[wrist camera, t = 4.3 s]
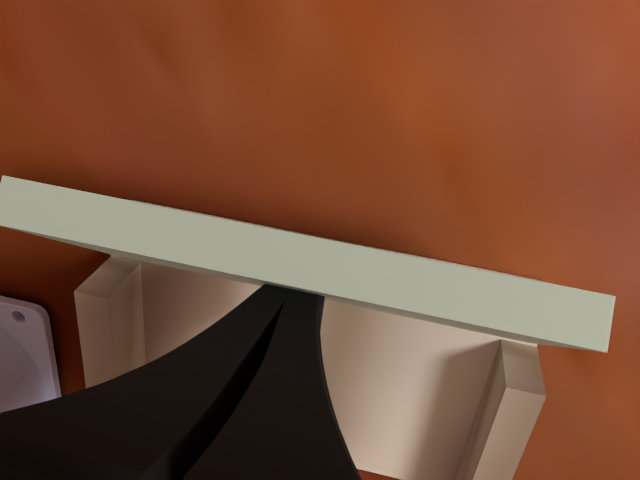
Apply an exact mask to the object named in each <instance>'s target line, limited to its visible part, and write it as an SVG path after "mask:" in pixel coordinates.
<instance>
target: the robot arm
mask: <svg viewBox="0 0 640 480" xmlns="http://www.w3.org/2000/svg"><path fill="white" fill-rule="evenodd" d="M324 301H325V296H321V295H318V294H313V293H308V292H303V291H298V290H294V289H289V288H284V287H279V286H275V285H270V284H263V285H262V286H261V287H260V288H259V289H257V290H256V291H255V292H254V293H253V294H251V295H250V296H249V297H248V298H247V299H245V300H244V301H243V302H242V303H240V304H239V305H238V306H237V307H235V308H234V309H233V310H231V311H230V312H229V313H227V314H226V315H225V316H223V317H222V318H221V319H219V320H218V321H217V322H215V323H214V324H213V325H211V326H210V327H208V328H207V329H205V330H204V331H202V332H201V333H199V334H198V335H196V336H195V337H193V338H192V339H190V340H189V341H187V342H185V343H184V344H182V345H180V346H179V347H177V348H175V349H174V350H172V351H170V352H169V353H167V354H165V355H163V356H161V357H159V358H157V359H155V360H154V361H152V362H149V363H147V364H145V365H143V366H141V367H139V368H136V369H134V370H132V371H129V372H127V373H125V374H122V375H120V376H118V377H116V378H113V379H111V380H108V381H106V382H103V383H100V384H98V385H95V386H92V387H89V388H87V389H84V390H81V391H78V392H75V393H72V394H68V395H65V396H62V397H61V390H60V384H59V377H58V371H57V365H56V358H55V352H54V346H53V339H52V333H51V326H50V320H49V316H48V313H47V311H46V310H45V309H44V308H43V307H42V306H40V305H38V304H35V303H30V302H26V301H21V300H17V299H13V298H8V297H4V296H0V480H362V479H361V477H360V475H359V472H358V470H357V468H356V466H355V464H354V462H353V460H352V458H351V455H350V453H349V450H348V448H347V445H346V442H345V440H344V437H343V435H342V432H341V430H340V427H339V424H338V421H337V418H336V415H335V412H334V409H333V405H332V401H331V398H330V394H329V390H328V385H327V381H326V376H325V370H324V364H323V357H322V348H321V336H320V330H321V323H322V315H323V308H324Z"/></svg>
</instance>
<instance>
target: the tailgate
mask: <svg viewBox="0 0 640 480" xmlns="http://www.w3.org/2000/svg"><path fill="white" fill-rule="evenodd" d="M0 226H3V227H7V228H10V229H14V230H18V231H22V232H26V233H30V234H34V235H38V236H41V237H45V238H49V239H53V240H57V241H61V242H65V243H68V244H72V245H76V246H80V247H84V248H88V249H92V250H95V251H99V252H103V253H107V254H111V255H115V256H120V257H125V258H130V259H134V260H139V261H144V262H149V263H153V264H158V265H163V266H168V267H172V268H177V269H182V270H186V271H191V272H196V273H201V274H205V275H210V276H215V277H220V278H224V279H229V280H234V281H239V282H243V283H248V284H253V285H258V286H262V285H263V284H270V285H275V286H279V287H284V288H289V289H294V290H298V291H303V292H308V293H313V294H318V295H321V296H325V300H329V301H333V302H338V303H343V304H348V305H352V306H357V307H362V308H367V309H371V310H376V311H381V312H385V313H390V314H395V315H400V316H404V317H409V318H414V319H419V320H423V321H428V322H433V323H438V324H442V325H447V326H452V327H457V328H461V329H466V330H471V331H475V332H480V333H485V334H490V335H494V336H499V337H504V338H509V339H513V340H518V341H523V342H528V343H535V344H543V345H551V346H559V347H567V348H575V349H583V350H591V351H599V352H607V351H608V344H609V338H610V331H611V324H612V318H613V311H614V304H615V297H616V296H611V295H606V294H601V293H596V292H591V291H586V290H581V289H576V288H571V287H566V286H561V285H555V284H550V283H545V282H540V281H535V280H530V279H525V278H520V277H515V276H510V275H505V274H500V273H495V272H490V271H485V270H480V269H474V268H469V267H464V266H459V265H454V264H449V263H444V262H439V261H434V260H429V259H424V258H419V257H414V256H409V255H404V254H399V253H393V252H388V251H383V250H378V249H373V248H368V247H363V246H358V245H353V244H348V243H343V242H338V241H333V240H328V239H323V238H317V237H312V236H307V235H302V234H297V233H292V232H287V231H282V230H277V229H272V228H267V227H262V226H257V225H252V224H247V223H242V222H236V221H231V220H226V219H221V218H216V217H211V216H206V215H201V214H196V213H191V212H186V211H181V210H176V209H171V208H166V207H161V206H155V205H150V204H145V203H140V202H135V201H130V200H125V199H120V198H115V197H110V196H105V195H100V194H95V193H90V192H85V191H79V190H74V189H69V188H64V187H59V186H54V185H49V184H44V183H39V182H34V181H29V180H24V179H19V178H14V177H9V176H4V175H3V176H2V179H1V183H0Z"/></svg>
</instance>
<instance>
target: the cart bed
mask: <svg viewBox="0 0 640 480" xmlns="http://www.w3.org/2000/svg"><path fill="white" fill-rule="evenodd" d="M130 201H135V202H140V203H145V204H150V205H155V206H161V207H166V208H171V209H176V210H181V211H186V212H191V213H196V214H201V215H206V216H211V217H216V218H221V219H226V220H231V221H236V222H242V223H247V224H252V225H257V226H262V227H267V228H272V229H277V230H282V231H287V232H292V233H297V234H302V235H307V236H312V237H317V238H323V239H328V240H333V241H338V242H343V243H348V244H353V245H358V246H363V247H368V248H373V249H378V250H383V251H388V252H393V253H399V254H404V255H409V256H414V257H419V258H424V259H429V260H434V261H439V262H444V263H449V264H454V265H459V266H464V267H469V268H474V269H480V270H485V271H490V272H495V273H500V274H505V275H510V276H515V277H520V278H525V279H530V280H535V281H540V282H544V281H543V280H538V279H532V278H527V277H522V276H517V275H512V274H507V273H502V272H497V271H492V270H487V269H482V268H477V267H472V266H467V265H461V264H456V263H451V262H446V261H441V260H436V259H431V258H426V257H421V256H416V255H411V254H406V253H401V252H396V251H390V250H385V249H380V248H375V247H370V246H365V245H360V244H355V243H350V242H345V241H340V240H335V239H330V238H325V237H319V236H314V235H309V234H304V233H299V232H294V231H289V230H284V229H279V228H274V227H269V226H264V225H259V224H254V223H248V222H243V221H238V220H233V219H228V218H223V217H218V216H213V215H208V214H203V213H198V212H193V211H188V210H183V209H177V208H172V207H167V206H162V205H157V204H152V203H147V202H142V201H137V200H130ZM110 256H111V257H110V258H108V259H107V260H106V261H105V262H104V263H103V264H102V265H101V266H100V267H99V268H98V269H97V270H96V271H95V272H94V273H93V274H92V275H91V276H89V277H88V278H87V279H86V280H85V281H84V282H83V283H82V284H81V285H80V286H79V287H78V288H77V289H76V290H75V291H74V297H75V305H76V313H77V321H78V329H79V337H80V345H81V352H82V360H83V368H84V376H85V384H86V389H87V388H89V387H92V386H95V385H98V384H100V383H103V382H106V381H108V380H111V379H113V378H116V377H118V376H120V375H122V374H125V373H127V372H129V371H132V370H134V369H136V368H139V367H141V366H143V365H145V364H147V363H149V362H152V361H154V360H155V359H157V358H159V357H161V356H163V355H165V354H167V353H169V352H170V351H172V350H174V349H175V348H177V347H179V346H180V345H182V344H184V343H185V342H187V341H189V340H190V339H192V338H193V337H195V336H196V335H198V334H199V333H201V332H202V331H204V330H205V329H207V328H208V327H210V326H211V325H213V324H214V323H215V322H217V321H218V320H219V319H221V318H222V317H223V316H225V315H226V314H227V313H229V312H230V311H231V310H233V309H234V308H235V307H237V306H238V305H239V304H240V303H242V302H243V301H244V300H245V299H247V298H248V297H249V296H250V295H251V294H253V293H254V292H255V291H256V290H257V289H259V288H260V287H261V286H258V285H253V284H248V283H243V282H239V281H234V280H229V279H224V278H220V277H215V276H210V275H205V274H201V273H196V272H191V271H186V270H182V269H177V268H172V267H168V266H163V265H158V264H153V263H149V262H144V261H139V260H134V259H130V258H125V257H120V256H115V255H111V254H110ZM320 336H321V348H322V357H323V364H324V370H325V376H326V381H327V385H328V390H329V394H330V398H331V401H332V405H333V409H334V412H335V415H336V418H337V421H338V424H339V427H340V430H341V432H342V435H343V437H344V440H345V442H346V445H347V448H348V450H349V453H350V455H351V458H352V460H353V462H354V464H355V466H356V468H357V469H361V470H365V471H369V472H373V473H377V474H381V475H385V476H389V477H393V478H397V479H401V480H512V478H513V476H514V473H515V471H516V468H517V466H518V464H519V461H520V459H521V456H522V454H523V451H524V449H525V447H526V444H527V442H528V439H529V437H530V435H531V432H532V430H533V427H534V425H535V422H536V420H537V418H538V415H539V413H540V410H541V408H542V405H543V403H544V401H545V398H546V392H545V387H544V382H543V376H542V371H541V366H540V361H539V356H538V351H537V345H538V344H535V343H528V342H523V341H518V340H513V339H509V338H504V337H499V336H494V335H490V334H485V333H480V332H475V331H471V330H466V329H461V328H457V327H452V326H447V325H442V324H438V323H433V322H428V321H423V320H419V319H414V318H409V317H404V316H400V315H395V314H390V313H385V312H381V311H376V310H371V309H367V308H362V307H357V306H352V305H348V304H343V303H338V302H333V301H329V300H325V301H324V308H323V315H322V323H321V330H320Z"/></svg>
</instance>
